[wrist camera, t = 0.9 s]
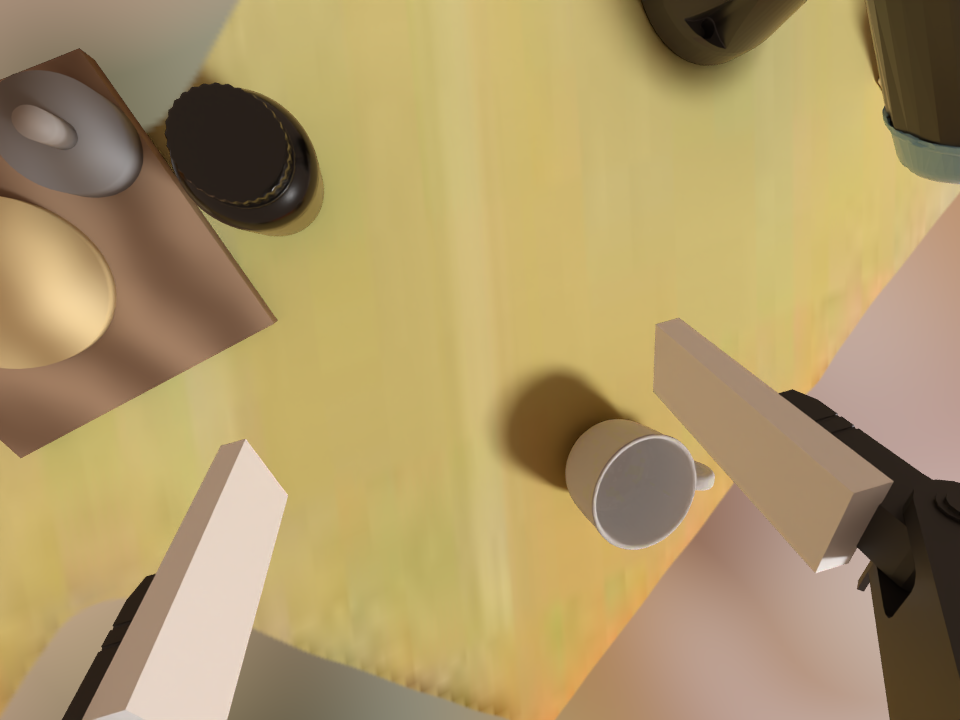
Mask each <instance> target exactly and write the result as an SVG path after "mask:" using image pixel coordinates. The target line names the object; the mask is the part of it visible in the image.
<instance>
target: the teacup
mask: <svg viewBox="0 0 960 720" xmlns="http://www.w3.org/2000/svg"><path fill="white" fill-rule="evenodd" d="M565 476H566V484H567V488H568V491H569V493H570V496H571V497H572V499H573V501H574V503H575V504H576V505H577V507H578V508H579V509H580V510H581V512H582V513H583V514H584V515H585V516H586V518H587V519H588V520H589V521H590V522H591V523H592V524H593V525H594V526H595V527H596V528H597V530H598V532H599V533H600V534H601V535H602V536H603V537H604V538H605V539H606V540H607V541H608V542H609V543H611V544H612V545H614V546H617V547H619V548H623V549H629V550H632V549H634V550H636V549H642V548H647V547H649V546H651V545H654V544H657V543H658V542H660V541H662V540H663V539H665V538H666V537H667V536H669V535H670V534H671V533H672V532H673V531H674V530H675V529H676V528H677V527H678V526H679V524H680V523H681V522H682V520H683V519H684V517H685V516H686V514H687V512H688V510H689V508H690V506H691V503H692V500H693V497H694V493H695V490H708V489H710V488H711V487H712V486H713V484H714V478H715V475H714V473H713V471H712V470H711V469H710V468H709V467H707V466H706V465H704V464H701V463H699V462H696V461H694V460H693V458H692V456H691V454H690V452H689V451H688V449H687V448H686V447H685V446H684V445H683V444H682V443H681V442H680V441H678V440H676V439H675V438H673V437H670V436H667V435H663V434H661V433H659V432H657V431H655V430H653V429H651V428H649V427H647V426H644V425H642V424H639V423H637V422H634V421H630V420H624V419H612V420H607V421H603V422H600V423H598V424H596V425H594V426H592V427H591V428H589V429H588V430H587V431H585V432H584V433H583V434H582V435H581V436H580V437H579V438H578V440H577V441H576V442H575V444H574V446H573V447H572V449H571V451H570V453H569V456H568V459H567V463H566V471H565Z"/></svg>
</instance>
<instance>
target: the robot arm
mask: <svg viewBox="0 0 960 720" xmlns="http://www.w3.org/2000/svg"><path fill="white" fill-rule="evenodd" d="M806 1H807V0H642V3H643V5H644V8H645V11H646V13H647V16H648V18H649V20H650V22H651V24H652V26H653V28H654V29H655V31H656V32H657V34H658V35H659V37H660V38H661V39H662V41H663V42H664V43H665V44H666V45H667V46H668V47H669V48H670V49H671V50H672V51H673V52H674V53H676V54H677V55H678V56H680V57H681V58H683V59H685V60H687V61H689V62H692V63H695V64H699V65H718V64H722V63H725V62H728V61H730V60H732V59H734V58H736V57H738V56H740V55H742V54H744V53H746V52H748V51H750V50H752V49H753V48H755V47H757V46H758V45H759V44H761V43H762V42H763V41H765V40H766V39H767V38H768V37H770V36H771V35H772V34H773V33H774V32H775V31H776V30H777V29H778V28H779V27H780V26H781V25H782V24H783V23H784V22H785V21H786V20H787V19H788V18H789V17H790V16H791V15H792V14H793V13H794V12H796V11H797V10H798V9H799V8H800V7H801V6H802V5H803V4H804V3H805V2H806ZM865 2H866V8H867V13H868V18H869V24H870V29H871V34H872V40H873V45H874V50H875V56H876V61H877V66H878V72H879V77H880V82H881V88H882V93H883V98H884V104H885V106H884V108H883V120H884V123H885V125H886V126H887V128H888V129H889V130H890V132H891V134H892V138H893V142H894V145H895V149H896V153H897V156H898V158H899V160H900V162H901V163H902V164H903V165H904V166H905V167H907V168H908V169H909V170H910V171H911V172H913V173H915V174H916V175H918V176H920V177H923V178H926V179H929V180H933V181H937V182H944V183H952V184H960V0H865ZM653 392H654V393H655V394H656V395H657V396H658V397H659V398H660V400H661V401H662V402H663V403H664V404H665V405H666V406H667V407H668V409H669V410H670V411H671V412H672V413H673V414H674V415H675V416H676V418H677V419H678V420H679V421H680V422H681V423H682V424H683V425H684V426H685V428H686V429H687V430H688V431H689V432H690V433H691V434H692V435H693V437H694V438H695V439H696V440H697V441H698V442H699V443H700V444H701V446H702V447H703V448H704V449H705V450H706V451H707V452H708V453H709V455H710V456H711V457H712V458H713V459H714V460H715V461H716V462H717V464H718V465H719V466H720V467H721V468H722V469H723V470H724V471H725V473H726V474H727V475H728V476H729V477H730V478H731V479H732V480H733V481H734V483H735V484H736V485H737V486H738V487H739V488H740V489H741V490H742V492H743V493H744V494H745V495H746V496H747V497H748V498H749V499H750V501H751V502H752V503H753V504H754V505H755V506H756V507H757V508H758V510H759V511H760V512H761V513H762V514H763V515H764V516H765V517H766V519H768V521H769V522H770V523H771V524H772V525H773V526H774V527H775V529H776V530H777V531H778V532H779V533H780V534H781V535H782V536H783V538H784V539H785V540H786V541H787V542H788V543H789V544H790V545H791V546H792V548H793V549H794V550H795V551H796V552H797V553H798V554H799V556H800V557H801V558H802V559H803V560H804V561H805V562H806V563H807V564H808V566H809V567H810V568H811V569H812V570H813V571H814V572H815V573H818V572H821V571H824V570H828V569H831V568H834V567H837V566H841V565H844V564H847V563H849V561H850V559H851V558H852V556H853V554H854V552H855V550H856V549H857V548H859V549H860V550H861V551H862V552H863V553H864V554H865V555H866V556H867V557H868V558H869V559H870V563H869V564H868V566H867V567H866V569H865V571H864V572H863V574H862V575H861V577H860V579H859V580H858V586H857V589H858V590H861V591H864V590H865V589H866V587H867V585H868V584H869V583H870V587H871V592H872V593H871V594H872V600H873V607H874V614H875V620H876V628H877V635H878V641H879V648H880V655H881V662H882V669H883V676H884V683H885V689H886V696H887V703H888V710H889V717H890V720H960V483H958V482H955V481H945V480H932V479H930V478H929V477H927V476H926V475H924V474H922V473H921V472H920V471H918V470H917V469H915V468H914V467H912V466H911V465H910V464H908V463H907V462H905V461H904V460H902V459H901V458H900V457H898V456H897V455H895V454H894V453H892V452H891V451H890V450H888V449H887V448H885V447H884V446H883V445H881V444H879V443H878V442H877V441H875V440H874V439H872V438H871V437H870V436H868V435H867V434H866V433H864V432H863V431H861V430H860V429H855V427H854V425H853V424H851V423H850V422H849V421H847V420H846V419H844V418H843V417H839V416H838V414H837V413H836V412H834V411H833V410H832V409H830V408H829V407H827V406H826V405H824V404H823V403H822V402H820V401H819V400H817V399H815V398H812V397H810V396H807V395H805V394H803V393H800V392H798V391H795V390H793V389H792V390H789V391H785V392H782V393H777V392H776V391H774V390H773V389H772V388H770V387H769V386H768V385H766V384H765V383H764V382H762V381H761V380H760V379H759V378H757V377H756V376H755V375H753V374H752V373H751V372H749V371H748V370H747V369H745V368H744V367H743V366H741V365H740V364H739V363H738V362H736V361H735V360H734V359H732V358H731V357H730V356H728V355H727V354H726V353H724V352H723V351H722V350H720V349H719V348H718V347H717V346H715V345H714V344H713V343H711V342H710V341H709V340H707V339H706V338H705V337H703V336H702V335H701V334H699V333H698V332H697V331H696V330H694V329H693V328H692V327H690V326H689V325H688V324H686V323H685V322H684V321H682V320H681V319H680V318H676V319H673V320H669V321H666V322H662V323H659V324H656V331H655V357H654V384H653ZM287 497H288V495H287V493H286V492H285V491H284V489H283V488H282V487H281V485H280V484H279V483H278V481H277V480H276V479H275V477H274V476H273V475H272V473H271V472H270V471H269V469H268V468H267V467H266V465H265V464H264V463H263V461H262V460H261V459H260V457H259V456H258V455H257V453H256V452H255V451H254V449H253V448H252V447H251V445H250V444H249V443H248V441H247V440H246V439H243V440H240V441H236V442H233V443H229V444H225V445H222V446H220V448H219V450H218V452H217V454H216V456H215V458H214V460H213V462H212V464H211V466H210V468H209V470H208V472H207V474H206V476H205V478H204V480H203V482H202V484H201V486H200V488H199V490H198V492H197V494H196V496H195V498H194V500H193V502H192V504H191V506H190V508H189V510H188V512H187V514H186V516H185V518H184V519H183V521H182V523H181V525H180V527H179V529H178V531H177V533H176V535H175V537H174V539H173V541H172V543H171V545H170V547H169V549H168V551H167V553H166V555H165V557H164V559H163V561H162V563H161V565H160V567H159V569H158V571H157V573H156V574H153V575H150V576H146V577H145V579H144V580H143V581H142V582H141V583H140V585H139V586H138V587H137V588H136V589H135V591H134V592H133V593H132V594H131V595H130V597H129V598H128V599H127V600H126V602H125V604H124V606H123V608H122V609H121V611H120V613H119V615H118V617H117V619H116V620H115V622H114V624H113V630H110V632H109V633H108V635H107V637H106V639H105V641H104V643H103V645H102V646H101V647H102V651H100V652H98V654H97V656H96V657H95V659H94V661H93V663H92V665H91V667H90V669H89V670H88V672H87V674H86V676H85V678H84V680H83V682H82V684H81V685H80V687H79V689H78V691H77V693H76V695H75V697H74V698H73V700H72V702H71V704H70V706H69V708H68V710H67V711H66V713H65V715H64V717H63V719H62V720H227V718H228V713H229V710H230V706H231V703H232V699H233V695H234V691H235V688H236V685H237V681H238V677H239V674H240V669H241V666H242V662H243V659H244V655H245V652H246V648H247V644H248V641H249V637H250V633H251V630H252V626H253V622H254V619H255V615H256V611H257V607H258V604H259V600H260V596H261V593H262V589H263V585H264V582H265V578H266V574H267V571H268V567H269V563H270V560H271V556H272V552H273V549H274V545H275V541H276V538H277V534H278V530H279V527H280V523H281V519H282V516H283V512H284V508H285V505H286V501H287Z"/></svg>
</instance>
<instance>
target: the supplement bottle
mask: <svg viewBox="0 0 960 720" xmlns="http://www.w3.org/2000/svg"><path fill="white" fill-rule="evenodd" d="M168 115H169V117H168V118H167V119H166V121H165V123H166V127H167V129H166V131H165V136H166V138H167V147H168V149H169V150H170V157H171V162H172V166H173V169H174V172H175V174H176V176H177V179H178V180H179V182H180V184H181V186H182V187H183V189H184V190H185V192H186V193H187V194H188V196H189V197H190V198H191V199H192V200H193V201H194V203H195V204H196V205H198V206H199V207H200V208H201V209H202V210H203V211H205V212H206V213H207V214H209V215H210V216H212V217H213V218H215V219H217V220H218V221H220V222H222V223H224V224H227V225H229V226H232V227H235V228H238V229H242V230H246V231H250V232H254V233H258V234H263V235H268V236H287V235H292V234H295V233H297V232H300V231H302V230H303V229H305V228H306V227H308V226H309V225H310V224H311V223H312V222H313V221H314V220H315V218H316V217H317V215H318V214H319V212H320V209H321V207H322V203H323V198H324V186H323V179H322V175H321V171H320V167H319V163H318V160H317V156H316V153H315V150H314V147H313V145H312V142H311V141H310V139H309V137H308V135H307V133H306V132H305V130H304V128H303V127H302V126H301V124H300V123H299V122H298V121H297V119H296V118H295V117H294V116H293V115H292V114H291V113H290V112H289V111H288V110H286V109H285V108H284V107H283V106H281V105H280V104H279V103H277V102H276V101H274V100H272V99H270V98H269V97H267V96H264V95H262V94H260V93H257V92H255V91H251V90H247V89H242V88H234V87H232V86H231V85H229V84H225V85H221V84H219V83H213V84H211V85H208V84H202V85H200V86H199V87H192V88H191V89H190V90H189V91H188V92H183V93H182V94H181V96H180V98H179V99H176V100H175V101H174V104H173V107H172V108H171V109H169V111H168Z"/></svg>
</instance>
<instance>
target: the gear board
mask: <svg viewBox="0 0 960 720" xmlns="http://www.w3.org/2000/svg"><path fill="white" fill-rule="evenodd" d="M276 321H277V319H276V317H275V316H274V315H273V313H272V312H271V310H270V309H269V307H268V306H267V305H266V303H265V302H264V300H263V299H262V298H261V296H260V295H259V293H258V292H257V290H256V289H255V288H254V286H253V285H252V283H251V282H250V280H249V279H248V278H247V276H246V275H245V273H244V272H243V270H242V269H241V268H240V266H239V265H238V263H237V262H236V261H235V259H234V258H233V256H232V255H231V253H230V252H229V251H228V249H227V248H226V246H225V245H224V243H223V242H222V241H221V239H220V238H219V236H218V235H217V233H216V232H215V231H214V229H213V228H212V226H211V225H210V223H209V222H208V221H207V219H206V218H205V216H204V215H203V214H202V212H201V211H200V209H199V208H198V206H197V205H196V204H195V203H194V201H193V200H192V199H191V198H190V197H189V196H188V194H187V193H186V192H185V190H184V189H183V187H182V186H181V184H180V182H179V180H178V179H177V176H176V175H175V174H174V172H173V171H172V169H171V168H170V167H169V165H168V164H167V162H166V161H165V159H164V158H163V157H162V155H161V154H160V152H159V151H158V149H157V148H156V147H155V145H154V144H153V142H152V141H151V139H150V138H149V137H148V135H147V134H146V132H145V131H144V130H143V128H142V127H141V125H140V124H139V122H138V121H137V120H136V118H135V117H134V115H133V114H132V112H131V111H130V110H129V108H128V107H127V105H126V104H125V103H124V101H123V100H122V98H121V97H120V95H119V94H118V92H117V91H116V90H115V89H114V87H113V85H112V84H111V83H110V81H109V80H108V78H107V77H106V75H105V74H104V73H103V71H102V70H101V68H100V67H99V66H98V64H97V63H96V61H95V60H94V59H93V58H91V57H90V56H89V55H87V54H86V53H85V52H83V51H82V50H81V49H80V48H79V49H76V50H74V51H71V52H69V53H66V54H64V55H61V56H59V57H57V58H54V59H52V60H49V61H47V62H44V63H41V64H39V65H36V66H34V67H31V68H29V69H26V70H24V71H21V72H19V73H16V74H13V75H11V76H9V77H6V78H4V79H1V80H0V440H1V441H2V442H3V443H4V444H5V445H7V446H8V447H9V448H10V449H11V450H12V451H13V452H14V453H15V454H17V455H18V456H19V457H20V458H22V457H24V456H26V455H28V454H30V453H32V452H33V451H35V450H37V449H39V448H41V447H43V446H45V445H47V444H48V443H50V442H52V441H54V440H56V439H58V438H60V437H62V436H64V435H65V434H67V433H69V432H71V431H73V430H75V429H77V428H79V427H80V426H82V425H84V424H86V423H88V422H90V421H92V420H94V419H95V418H97V417H99V416H101V415H103V414H105V413H107V412H109V411H111V410H112V409H114V408H116V407H118V406H120V405H122V404H124V403H126V402H127V401H129V400H131V399H133V398H135V397H137V396H139V395H141V394H142V393H144V392H146V391H148V390H150V389H152V388H154V387H156V386H158V385H159V384H161V383H163V382H165V381H167V380H169V379H171V378H173V377H174V376H176V375H178V374H180V373H182V372H184V371H186V370H188V369H189V368H191V367H193V366H195V365H197V364H199V363H201V362H203V361H204V360H206V359H208V358H210V357H212V356H214V355H216V354H218V353H220V352H221V351H223V350H225V349H227V348H229V347H231V346H233V345H235V344H236V343H238V342H240V341H242V340H244V339H246V338H248V337H250V336H251V335H253V334H255V333H257V332H259V331H261V330H263V329H265V328H267V327H268V326H270V325H272V324H274V323H275V322H276Z"/></svg>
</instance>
